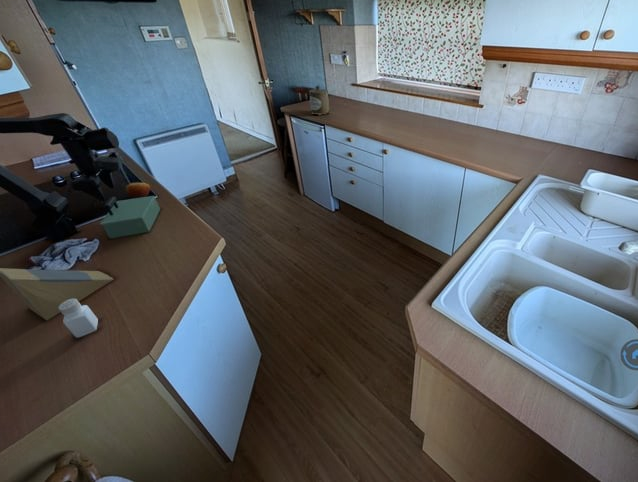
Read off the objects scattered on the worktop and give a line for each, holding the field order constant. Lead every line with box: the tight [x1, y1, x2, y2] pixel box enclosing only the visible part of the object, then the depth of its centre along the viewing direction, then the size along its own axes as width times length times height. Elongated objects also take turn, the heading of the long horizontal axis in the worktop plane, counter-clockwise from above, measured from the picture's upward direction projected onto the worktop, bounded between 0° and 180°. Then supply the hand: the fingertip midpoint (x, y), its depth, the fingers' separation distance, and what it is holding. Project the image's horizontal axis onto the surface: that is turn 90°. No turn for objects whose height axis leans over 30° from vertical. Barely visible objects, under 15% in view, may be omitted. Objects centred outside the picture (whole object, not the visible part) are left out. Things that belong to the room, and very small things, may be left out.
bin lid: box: [99, 195, 156, 226], centre depth 106 cm, size 12×16×5 cm
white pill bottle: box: [58, 299, 99, 339], centre depth 70 cm, size 4×4×10 cm
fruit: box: [125, 182, 151, 199], centre depth 124 cm, size 8×8×8 cm
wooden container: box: [308, 85, 330, 113], centre depth 236 cm, size 15×15×22 cm
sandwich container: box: [0, 267, 114, 321], centre depth 78 cm, size 9×15×15 cm, turn 156°
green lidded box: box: [101, 197, 161, 239], centre depth 109 cm, size 12×16×6 cm
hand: (108, 193), depth 103 cm, fingers open, 9 cm apart
